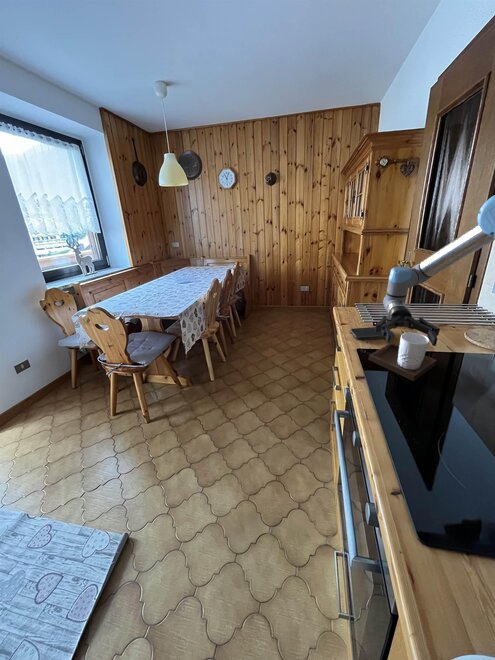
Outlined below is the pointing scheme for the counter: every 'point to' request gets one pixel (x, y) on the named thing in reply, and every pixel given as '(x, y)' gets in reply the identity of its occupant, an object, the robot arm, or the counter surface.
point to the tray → (389, 359)
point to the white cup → (412, 350)
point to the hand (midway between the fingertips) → (411, 340)
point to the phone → (368, 333)
